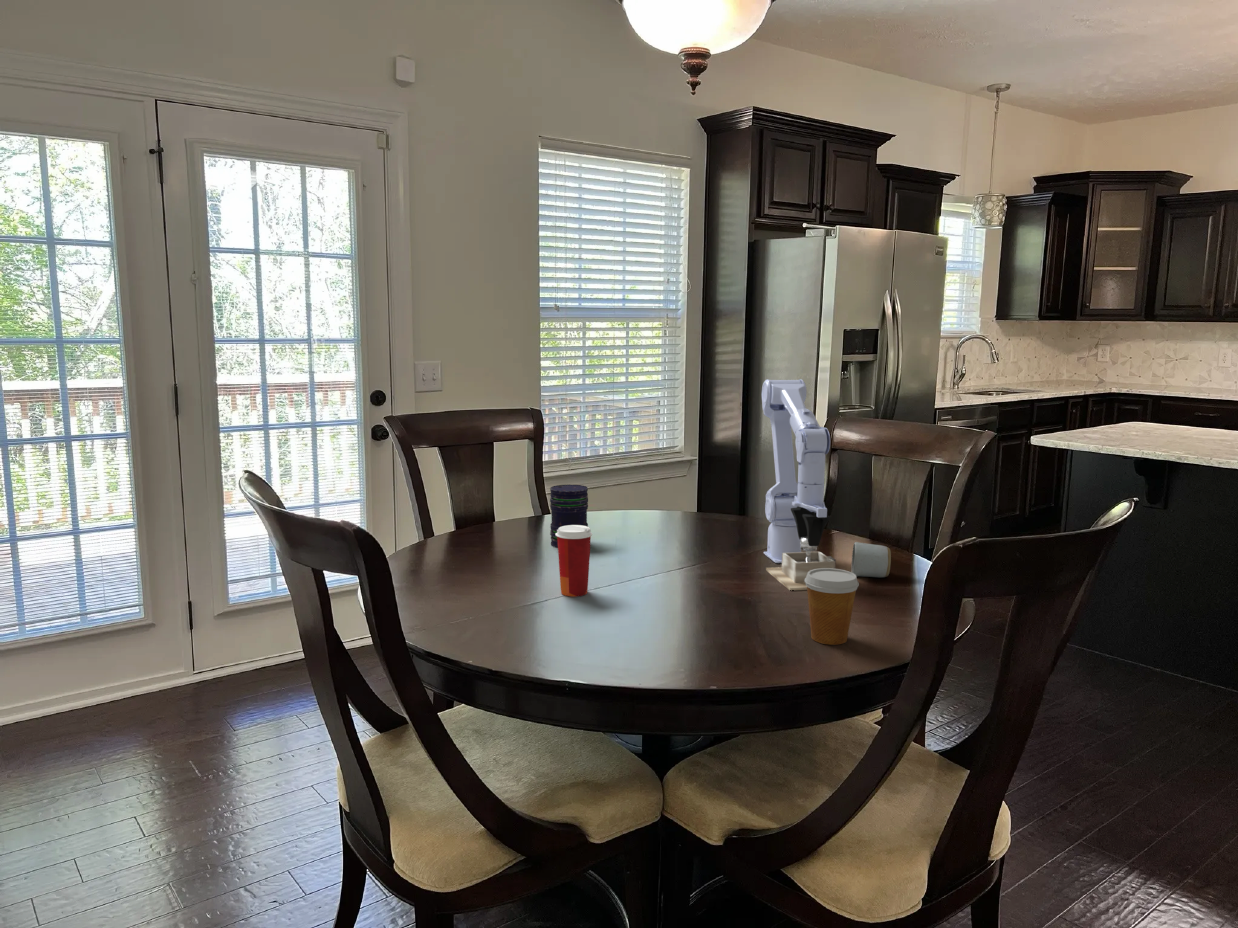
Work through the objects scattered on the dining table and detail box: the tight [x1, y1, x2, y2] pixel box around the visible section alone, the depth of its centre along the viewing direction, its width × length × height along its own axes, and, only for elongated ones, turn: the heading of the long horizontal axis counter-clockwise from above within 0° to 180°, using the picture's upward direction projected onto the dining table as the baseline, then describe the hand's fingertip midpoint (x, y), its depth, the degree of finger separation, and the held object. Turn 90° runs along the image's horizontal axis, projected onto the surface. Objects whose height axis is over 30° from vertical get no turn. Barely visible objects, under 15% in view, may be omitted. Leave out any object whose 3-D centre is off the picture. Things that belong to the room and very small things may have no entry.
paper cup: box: [555, 525, 593, 598], centre depth 181 cm, size 8×8×14 cm
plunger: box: [796, 537, 818, 562], centre depth 192 cm, size 7×7×6 cm
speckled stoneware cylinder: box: [851, 541, 892, 578], centre depth 197 cm, size 11×8×8 cm
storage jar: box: [549, 484, 589, 549], centre depth 223 cm, size 10×10×15 cm
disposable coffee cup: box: [805, 568, 860, 646], centre depth 155 cm, size 10×10×12 cm
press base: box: [765, 551, 837, 591], centre depth 193 cm, size 16×14×5 cm
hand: (808, 542), depth 192 cm, fingers open, 5 cm apart
